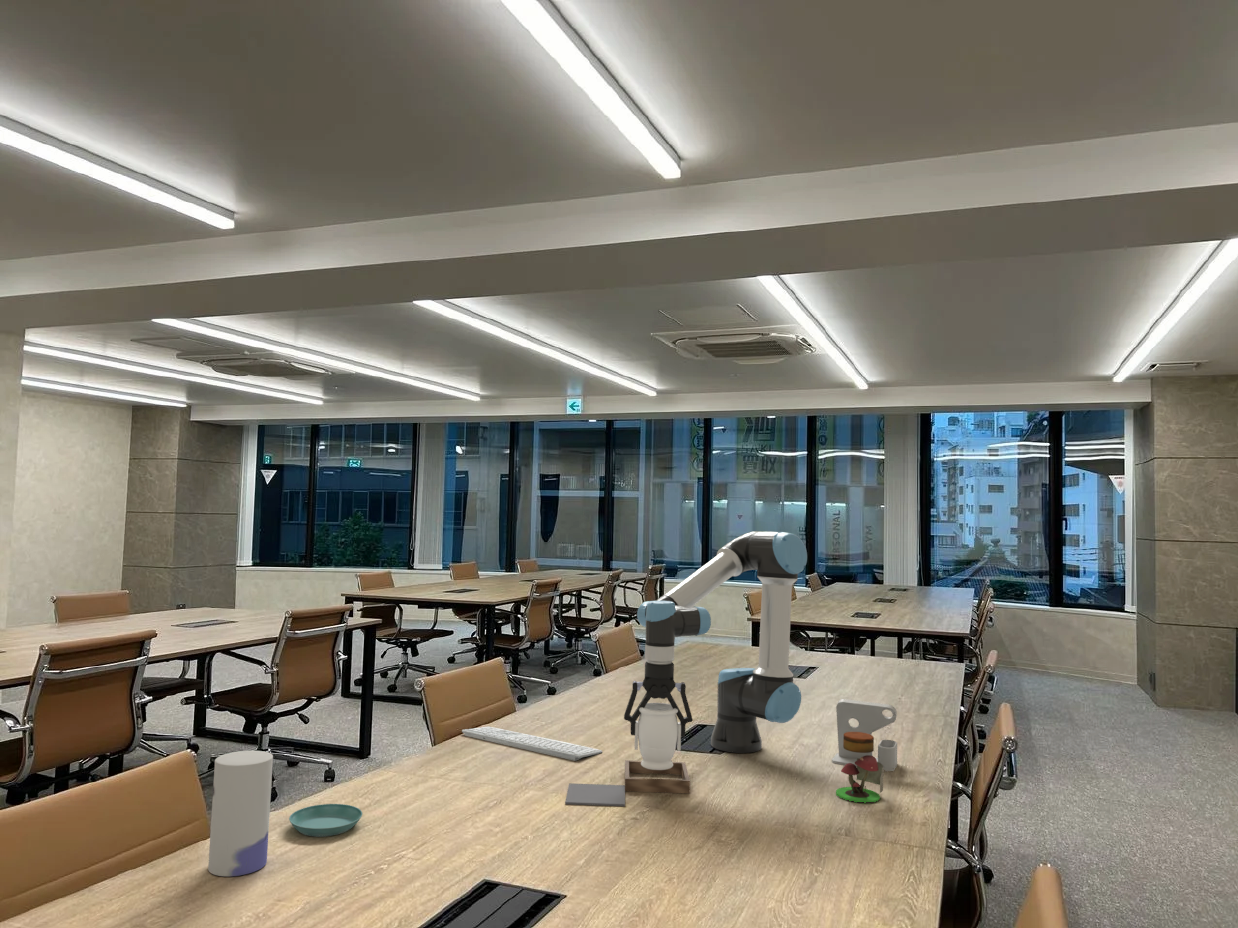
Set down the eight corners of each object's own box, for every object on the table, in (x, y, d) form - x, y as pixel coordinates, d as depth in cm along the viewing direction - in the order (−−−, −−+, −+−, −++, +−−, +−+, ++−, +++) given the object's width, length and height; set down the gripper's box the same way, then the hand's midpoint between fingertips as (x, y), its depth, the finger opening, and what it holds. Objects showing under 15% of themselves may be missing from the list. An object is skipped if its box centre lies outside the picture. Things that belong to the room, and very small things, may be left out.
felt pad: (624, 787, 210) (624, 785, 210) (624, 806, 196) (625, 804, 196) (569, 785, 210) (569, 783, 210) (565, 804, 196) (565, 801, 196)
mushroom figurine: (859, 808, 200) (860, 744, 201) (824, 792, 211) (825, 731, 212) (896, 801, 206) (896, 739, 207) (859, 786, 217) (860, 727, 218)
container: (220, 855, 161) (227, 749, 162) (273, 855, 162) (280, 749, 163) (198, 877, 151) (206, 764, 153) (256, 877, 152) (262, 764, 153)
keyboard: (603, 753, 241) (603, 745, 241) (577, 763, 231) (578, 755, 231) (488, 728, 265) (488, 721, 265) (460, 736, 255) (460, 728, 255)
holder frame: (684, 773, 223) (685, 762, 223) (689, 793, 207) (689, 780, 207) (624, 771, 223) (625, 760, 223) (624, 791, 207) (625, 778, 207)
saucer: (319, 846, 167) (320, 833, 168) (273, 830, 175) (273, 817, 175) (376, 825, 180) (377, 812, 180) (330, 810, 188) (331, 798, 188)
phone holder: (899, 763, 239) (899, 699, 240) (894, 772, 230) (895, 706, 231) (837, 754, 247) (838, 692, 248) (830, 763, 237) (831, 698, 239)
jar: (674, 773, 209) (675, 712, 210) (633, 770, 211) (634, 709, 212) (679, 761, 219) (680, 703, 220) (640, 758, 222) (642, 700, 222)
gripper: (702, 660, 221) (700, 745, 219) (615, 657, 221) (613, 743, 219) (704, 665, 213) (703, 753, 212) (615, 662, 213) (612, 751, 212)
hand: (657, 748), depth 216 cm, fingers closed on jar, 10 cm apart
